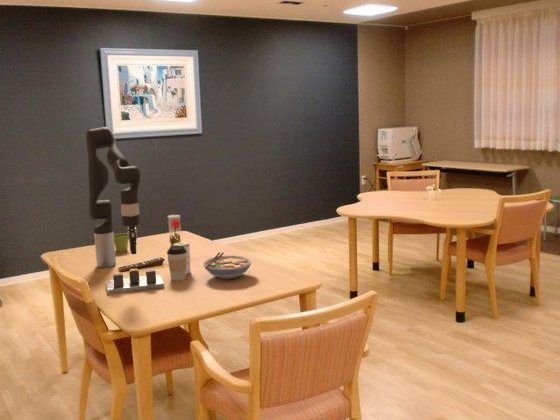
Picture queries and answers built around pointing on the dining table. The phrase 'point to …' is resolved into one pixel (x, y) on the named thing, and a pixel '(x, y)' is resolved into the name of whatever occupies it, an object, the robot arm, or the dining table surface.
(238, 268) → the ramen bowl
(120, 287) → the panel
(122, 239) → the plant pot
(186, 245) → the syrup box
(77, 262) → the dining table surface
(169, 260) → the coffee cup
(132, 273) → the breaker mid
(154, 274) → the block
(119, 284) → the block
